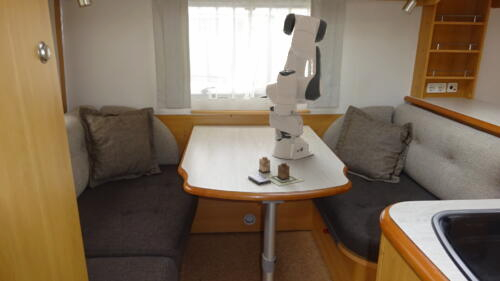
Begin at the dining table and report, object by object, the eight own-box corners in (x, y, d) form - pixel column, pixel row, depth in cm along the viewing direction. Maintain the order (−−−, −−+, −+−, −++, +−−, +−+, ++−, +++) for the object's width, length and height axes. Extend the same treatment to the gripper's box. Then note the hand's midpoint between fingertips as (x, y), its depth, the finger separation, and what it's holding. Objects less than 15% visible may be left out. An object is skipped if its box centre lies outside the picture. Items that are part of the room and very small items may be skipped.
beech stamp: (265, 169, 173) (266, 155, 171) (270, 172, 170) (270, 157, 168) (258, 171, 171) (258, 156, 169) (263, 173, 168) (263, 159, 166)
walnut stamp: (284, 176, 164) (285, 161, 162) (289, 179, 161) (290, 164, 159) (277, 177, 162) (277, 162, 160) (282, 180, 159) (282, 165, 157)
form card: (287, 172, 170) (287, 171, 170) (303, 180, 160) (304, 179, 160) (264, 177, 163) (264, 176, 163) (279, 186, 153) (279, 185, 153)
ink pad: (259, 176, 165) (259, 173, 164) (270, 182, 157) (270, 180, 157) (248, 178, 162) (248, 175, 161) (258, 185, 154) (258, 182, 154)
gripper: (307, 113, 146) (306, 146, 150) (278, 104, 163) (278, 134, 167) (294, 114, 143) (293, 148, 147) (266, 106, 160) (266, 136, 164)
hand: (285, 141), depth 157 cm, fingers open, 8 cm apart
